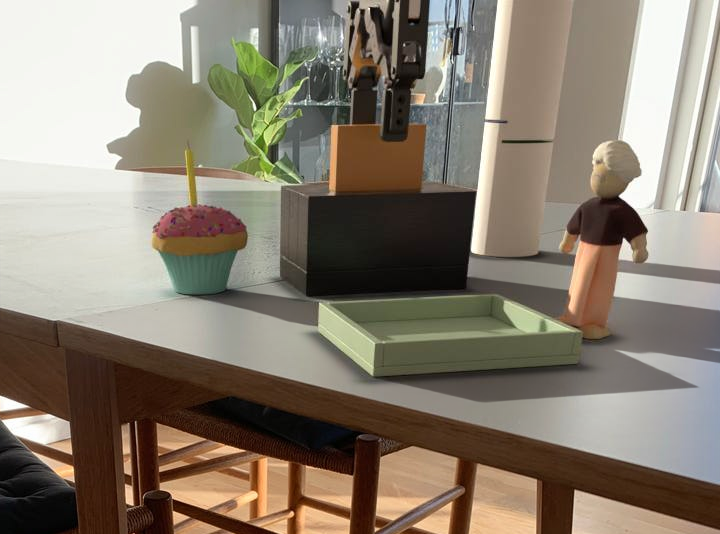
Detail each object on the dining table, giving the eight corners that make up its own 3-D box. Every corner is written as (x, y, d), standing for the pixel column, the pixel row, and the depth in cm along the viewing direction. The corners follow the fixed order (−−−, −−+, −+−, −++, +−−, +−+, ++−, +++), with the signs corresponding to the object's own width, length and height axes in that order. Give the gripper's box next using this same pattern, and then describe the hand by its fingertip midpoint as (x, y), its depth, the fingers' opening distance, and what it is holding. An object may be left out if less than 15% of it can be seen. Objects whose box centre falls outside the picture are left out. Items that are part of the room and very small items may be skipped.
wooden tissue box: (437, 269, 94) (445, 180, 90) (478, 287, 86) (489, 190, 82) (279, 276, 91) (280, 185, 87) (305, 296, 83) (308, 196, 79)
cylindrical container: (497, 245, 108) (529, -21, 95) (551, 251, 103) (592, -27, 91) (457, 251, 104) (485, -25, 91) (511, 259, 99) (549, -32, 87)
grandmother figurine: (525, 328, 71) (553, 139, 65) (555, 321, 74) (584, 137, 67) (618, 347, 66) (657, 143, 60) (646, 338, 68) (687, 141, 62)
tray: (493, 321, 74) (497, 293, 73) (578, 364, 62) (583, 331, 61) (317, 331, 71) (318, 302, 70) (373, 377, 60) (375, 343, 59)
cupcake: (140, 286, 87) (131, 140, 81) (222, 278, 91) (219, 137, 85) (178, 302, 81) (171, 145, 75) (265, 293, 84) (265, 141, 78)
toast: (408, 256, 89) (418, 123, 83) (415, 259, 87) (426, 124, 82) (326, 259, 88) (331, 124, 82) (332, 263, 86) (337, 125, 80)
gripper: (473, -108, 69) (448, 143, 77) (405, -80, 81) (390, 135, 89) (375, -112, 67) (360, 144, 76) (321, -82, 79) (313, 136, 88)
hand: (376, 139), depth 82 cm, fingers open, 8 cm apart
